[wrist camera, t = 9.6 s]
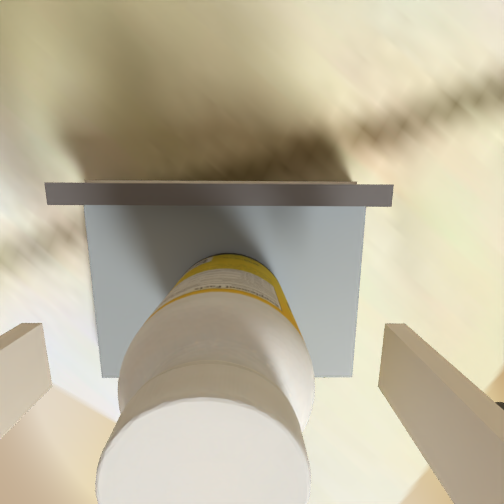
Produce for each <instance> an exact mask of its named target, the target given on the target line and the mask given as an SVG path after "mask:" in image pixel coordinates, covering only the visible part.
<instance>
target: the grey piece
mask: <svg viewBox="0 0 504 504" xmlns="http://www.w3.org/2000/svg"><path fill="white" fill-rule="evenodd" d="M393 186H394V185H357V182H325V181H162V180H85V183H45V190H46V198H47V205H84V213H85V222H86V231H87V241H88V250H89V260H90V269H91V278H92V288H93V297H94V306H95V316H96V325H97V334H98V344H99V353H100V362H101V372H102V378H119V374H120V369H121V365H122V362H123V359H124V356H125V354H126V352H127V349H128V347H129V345H130V344H131V342H132V340H133V338H134V337H135V335H136V334H137V333H138V331H139V330H140V329H141V327H142V326H143V324H144V323H145V322H146V320H147V319H148V318H149V317H150V315H151V314H152V313H153V312H154V311H155V309H156V308H157V307H158V306H159V305H160V303H161V302H162V301H163V300H164V299H165V297H166V296H167V295H168V294H169V293H170V291H171V290H172V289H173V288H174V286H175V285H176V284H177V283H178V281H179V280H180V279H181V277H182V276H183V275H184V274H185V272H186V271H187V270H188V269H189V268H190V267H192V266H193V265H194V264H195V263H197V262H198V261H200V260H202V259H204V258H206V257H208V256H211V255H214V254H219V253H239V254H243V255H247V256H250V257H252V258H254V259H256V260H258V261H260V262H261V263H262V264H264V265H265V266H266V267H267V268H268V269H269V270H270V271H271V272H272V273H273V274H274V276H275V277H276V279H277V280H278V282H279V284H280V286H281V288H282V290H283V293H284V295H285V297H286V300H287V302H288V304H289V307H290V309H291V311H292V314H293V316H294V318H295V321H296V323H297V325H298V328H299V330H300V333H301V335H302V337H303V340H304V342H305V344H306V347H307V349H308V352H309V355H310V358H311V361H312V366H313V371H314V377H352V372H353V359H354V347H355V335H356V323H357V310H358V298H359V286H360V274H361V261H362V249H363V237H364V225H365V212H366V206H372V207H391V206H392V196H393Z"/></svg>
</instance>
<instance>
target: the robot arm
mask: <svg viewBox="0 0 504 504" xmlns="http://www.w3.org/2000/svg"><path fill="white" fill-rule="evenodd" d="M378 387H379V389H380V390H381V392H382V393H383V395H384V396H385V398H386V399H387V401H388V402H389V404H390V406H391V407H392V409H393V410H394V412H395V413H396V415H397V416H398V418H399V419H400V421H401V423H402V424H403V426H404V427H405V429H406V430H407V432H408V433H409V435H410V436H411V438H412V440H413V441H414V443H415V444H416V446H417V447H418V449H419V450H420V452H421V453H422V455H423V457H424V458H425V460H426V461H427V463H428V464H429V466H430V467H431V469H432V470H433V472H434V473H435V475H436V477H437V478H438V480H439V481H440V483H441V484H442V486H443V487H444V489H445V491H446V492H447V493H448V495H449V497H450V498H451V500H452V501H453V503H454V504H504V403H503V402H494V401H493V400H492V399H490V398H489V397H488V396H487V395H486V394H485V393H484V392H482V391H481V390H480V389H479V388H478V387H477V386H476V385H474V384H473V383H472V382H471V381H470V380H469V379H468V378H466V377H465V376H464V375H463V374H462V373H461V372H460V371H458V370H457V369H456V368H455V367H454V366H453V365H452V364H450V363H449V362H448V361H447V360H446V359H445V358H444V357H442V356H441V355H440V354H439V353H438V352H437V351H436V350H434V349H433V348H432V347H431V346H430V345H429V344H428V343H427V342H425V341H424V340H423V339H422V338H421V337H420V336H419V335H417V334H416V333H415V332H414V331H413V330H412V329H411V328H409V327H408V326H407V325H406V324H385V329H384V338H383V347H382V356H381V365H380V373H379V382H378ZM50 388H52V382H51V375H50V369H49V363H48V357H47V351H46V345H45V338H44V332H43V326H42V323H21V324H19V325H18V326H16V327H14V328H13V329H11V330H9V331H8V332H6V333H4V334H3V335H1V336H0V439H1V438H2V437H3V436H4V435H5V434H6V433H7V432H8V431H9V430H10V429H11V428H12V427H13V426H14V425H15V424H16V423H17V422H18V421H19V420H20V419H21V418H22V417H23V416H24V415H25V414H26V413H27V412H28V410H30V409H31V408H32V407H33V406H34V404H36V403H37V402H38V401H39V400H40V399H41V398H42V397H43V396H44V394H46V393H47V392H48V391H49V390H50Z"/></svg>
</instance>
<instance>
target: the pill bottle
mask: <svg viewBox="0 0 504 504" xmlns="http://www.w3.org/2000/svg"><path fill="white" fill-rule="evenodd" d="M314 393H315V378H314V371H313V366H312V361H311V358H310V355H309V352H308V349H307V347H306V344H305V342H304V340H303V337H302V335H301V333H300V330H299V328H298V325H297V323H296V321H295V318H294V316H293V314H292V311H291V309H290V307H289V304H288V302H287V300H286V297H285V295H284V293H283V290H282V288H281V286H280V284H279V282H278V280H277V279H276V277H275V276H274V274H273V273H272V272H271V271H270V270H269V269H268V268H267V267H266V266H265V265H264V264H262V263H261V262H260V261H258V260H256V259H254V258H252V257H250V256H247V255H243V254H239V253H219V254H214V255H211V256H208V257H206V258H204V259H202V260H200V261H198V262H197V263H195V264H194V265H193V266H192V267H190V268H189V269H188V270H187V271H186V272H185V274H184V275H183V276H182V277H181V279H180V280H179V281H178V283H177V284H176V285H175V286H174V288H173V289H172V290H171V291H170V293H169V294H168V295H167V296H166V297H165V299H164V300H163V301H162V302H161V303H160V305H159V306H158V307H157V308H156V309H155V311H154V312H153V313H152V314H151V315H150V317H149V318H148V319H147V320H146V322H145V323H144V324H143V326H142V327H141V329H140V330H139V331H138V333H137V334H136V335H135V337H134V338H133V340H132V342H131V344H130V345H129V347H128V349H127V352H126V354H125V356H124V359H123V362H122V365H121V369H120V374H119V380H118V400H119V409H120V413H121V415H120V417H119V419H118V421H117V423H116V426H115V428H114V430H113V432H112V434H111V436H110V438H109V440H108V441H107V443H106V445H105V447H104V449H103V451H102V454H101V457H100V460H99V463H98V467H97V475H96V483H95V484H96V497H97V501H98V504H308V502H309V497H310V490H311V472H310V465H309V461H308V457H307V452H306V448H305V444H304V440H303V436H302V433H303V431H304V429H305V427H306V425H307V423H308V420H309V417H310V414H311V411H312V407H313V402H314Z"/></svg>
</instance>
